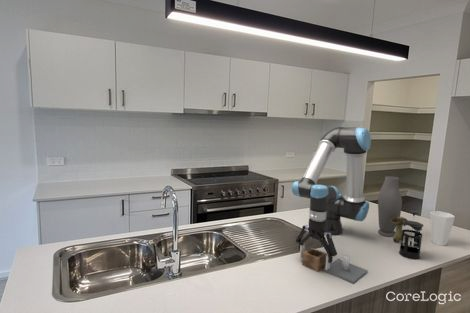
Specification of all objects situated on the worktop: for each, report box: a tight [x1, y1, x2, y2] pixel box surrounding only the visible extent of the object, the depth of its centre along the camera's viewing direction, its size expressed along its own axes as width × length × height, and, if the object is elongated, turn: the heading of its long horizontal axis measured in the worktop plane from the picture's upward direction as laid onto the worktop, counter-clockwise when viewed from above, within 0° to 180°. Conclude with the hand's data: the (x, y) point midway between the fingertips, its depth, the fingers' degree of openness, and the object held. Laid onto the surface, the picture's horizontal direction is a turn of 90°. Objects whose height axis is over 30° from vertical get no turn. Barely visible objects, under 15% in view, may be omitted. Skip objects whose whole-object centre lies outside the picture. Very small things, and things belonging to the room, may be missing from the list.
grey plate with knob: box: [322, 254, 368, 285], centre depth 130 cm, size 14×14×7 cm
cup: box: [429, 210, 456, 247], centre depth 164 cm, size 11×10×17 cm
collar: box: [301, 247, 328, 273], centre depth 135 cm, size 8×8×6 cm
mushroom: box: [391, 216, 409, 243], centre depth 163 cm, size 9×9×15 cm
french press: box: [398, 210, 424, 260], centre depth 147 cm, size 12×9×23 cm
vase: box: [377, 175, 403, 238], centre depth 174 cm, size 13×13×35 cm
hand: (314, 263), depth 135 cm, fingers open, 13 cm apart
